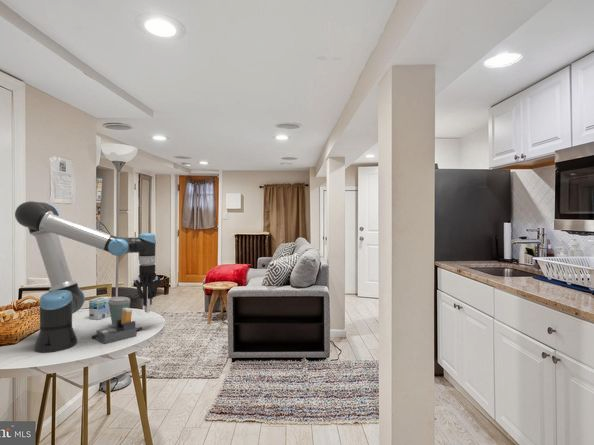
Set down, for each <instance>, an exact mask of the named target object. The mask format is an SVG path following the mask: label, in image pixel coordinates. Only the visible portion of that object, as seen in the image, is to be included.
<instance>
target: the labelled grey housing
mask: <svg viewBox="0 0 594 445" xmlns="http://www.w3.org/2000/svg"><path fill="white" fill-rule="evenodd" d="M137 328H138V327H136V321H135V320H134V321H133V320H131V322H127V323H123V326H122V324H121V319H120V320H116V327H113V326H112V327H111V326H110V327H107V328H103V329H98V330H96V334H95V335H96V338H95V339H96V340H97V341H99V342H100V343H101V344H102V343H103V344H104V345H107V344H111V343H115V342H118V341H124V340H128V339H131V338H132V339H133V338H135V337H137V335H138V334H137V332H138V331H137Z"/></svg>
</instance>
